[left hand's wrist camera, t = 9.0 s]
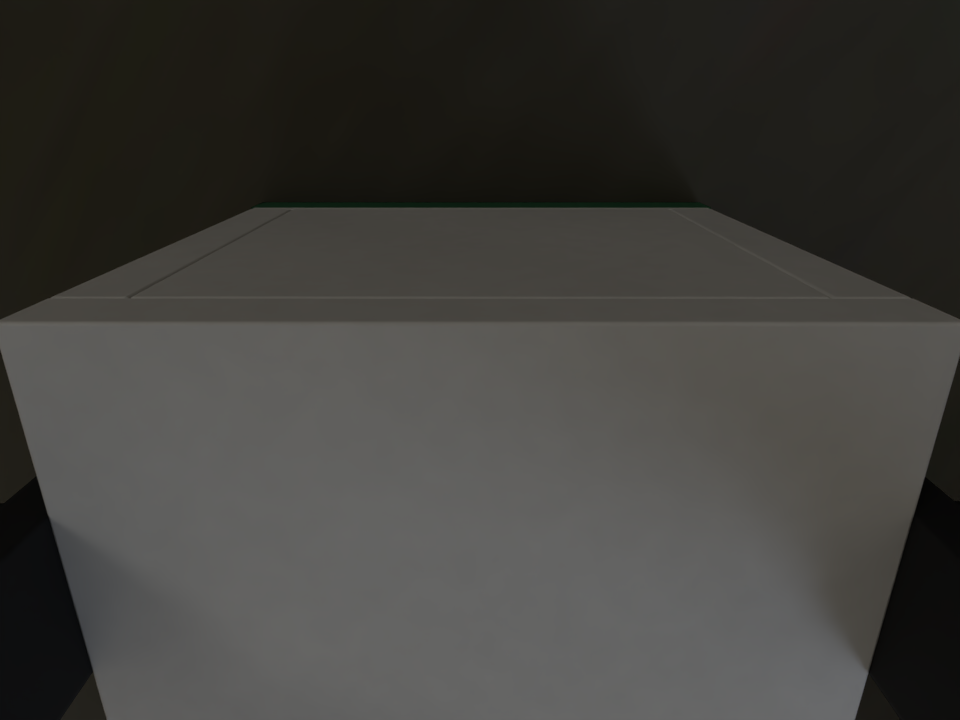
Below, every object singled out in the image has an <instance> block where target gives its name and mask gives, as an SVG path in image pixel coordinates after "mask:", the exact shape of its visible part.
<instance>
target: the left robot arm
mask: <svg viewBox="0 0 960 720" xmlns="http://www.w3.org/2000/svg"><path fill="white" fill-rule="evenodd" d="M92 672H93V670H92V667H91V663H90V660H89V656H88V653H87V649H86V646H85V642H84V639H83V635H82V632H81V628H80V625H79V621H78V618H77V614H76V611H75V607H74V604H73V601H72V597H71V594H70V590H69V587H68V583H67V580H66V576H65V573H64V569H63V566H62V562H61V559H60V555H59V552H58V548H57V545H56V541H55V538H54V534H53V531H52V528H51V524H50V521H49V517H48V514H47V510H46V507H45V503H44V500H43V496H42V493H41V489H40V486H39V482H38V479H37V476H36V477H35V478H34V479H33V480H31V481H30V482H29V483H28V484H27V485H25V486H24V487H23V488H22V489H21V490H19V491H18V492H17V493H16V494H15V495H13V496H12V497H11V498H10V499H9V500H8V501H6V502H5V503H0V720H60V719H61V718H62V716H63V715H64V713H65V712H66V710H67V709H68V707H69V706H70V704H71V703H72V701H73V700H74V699H75V697H76V696H77V694H78V693H79V691H80V690H81V688H82V687H83V685H84V684H85V682H86V681H87V679H88V678H89V677H90V675H91V674H92ZM869 674H870V676H871V677H872V678H873V680H874V681H875V683H876V684H877V686H878V687H879V689H880V690H881V692H882V693H883V695H884V696H885V698H886V699H887V700H888V702H889V703H890V705H891V706H892V708H893V709H894V711H895V712H896V714H897V715H898V717H899V718H900V719H901V720H960V501H953V500H952V499H951V498H950V497H948V496H947V495H946V494H945V493H944V492H942V491H941V490H940V489H939V488H938V487H937V486H935V485H934V484H933V483H932V482H931V481H929V480H928V479H927V478H926V477H925V478H924V482H923V485H922V489H921V492H920V496H919V499H918V503H917V506H916V510H915V513H914V517H913V520H912V524H911V527H910V530H909V534H908V537H907V541H906V544H905V548H904V551H903V555H902V558H901V562H900V565H899V569H898V572H897V576H896V579H895V582H894V586H893V589H892V593H891V596H890V600H889V603H888V607H887V610H886V614H885V617H884V621H883V624H882V628H881V631H880V635H879V638H878V641H877V645H876V648H875V652H874V655H873V659H872V662H871V666H870V669H869Z"/></svg>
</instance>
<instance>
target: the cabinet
mask: <svg viewBox="0 0 960 720" xmlns="http://www.w3.org/2000/svg"><path fill="white" fill-rule="evenodd" d="M0 350H1V354H2V357H3V361H4V364H5V368H6V371H7V375H8V378H9V382H10V385H11V388H12V392H13V395H14V399H15V402H16V406H17V409H18V413H19V416H20V420H21V423H22V427H23V430H24V434H25V437H26V441H27V444H28V448H29V451H30V455H31V458H32V461H33V465H34V468H35V472H36V475H37V479H38V482H39V486H40V489H41V493H42V496H43V500H44V503H45V507H46V510H47V514H48V517H49V521H50V524H51V528H52V531H53V534H54V538H55V541H56V545H57V548H58V552H59V555H60V559H61V562H62V566H63V569H64V573H65V576H66V580H67V583H68V587H69V590H70V594H71V597H72V601H73V604H74V607H75V611H76V614H77V618H78V621H79V625H80V628H81V632H82V635H83V639H84V642H85V646H86V649H87V653H88V656H89V660H90V663H91V667H92V670H93V674H94V677H95V681H96V684H97V687H98V691H99V694H100V698H101V701H102V705H103V708H104V712H105V715H106V719H107V720H855V718H856V714H857V711H858V707H859V704H860V700H861V697H862V694H863V690H864V687H865V683H866V680H867V676H868V673H869V669H870V666H871V662H872V659H873V655H874V652H875V648H876V645H877V641H878V638H879V635H880V631H881V628H882V624H883V621H884V617H885V614H886V610H887V607H888V603H889V600H890V596H891V593H892V589H893V586H894V582H895V579H896V576H897V572H898V569H899V565H900V562H901V558H902V555H903V551H904V548H905V544H906V541H907V537H908V534H909V530H910V527H911V524H912V520H913V517H914V513H915V510H916V506H917V503H918V499H919V496H920V492H921V489H922V485H923V482H924V478H925V475H926V471H927V468H928V465H929V461H930V458H931V454H932V451H933V447H934V444H935V440H936V437H937V433H938V430H939V426H940V423H941V419H942V416H943V413H944V409H945V406H946V402H947V399H948V395H949V392H950V388H951V385H952V381H953V378H954V374H955V371H956V367H957V364H958V360H959V357H960V319H958V318H956V317H953V316H951V315H949V314H947V313H944V312H942V311H940V310H938V309H935V308H933V307H931V306H929V305H926V304H924V303H922V302H920V301H917V300H915V299H911V298H910V297H908V296H906V295H903V294H901V293H899V292H897V291H894V290H892V289H890V288H888V287H885V286H883V285H881V284H879V283H876V282H874V281H872V280H870V279H867V278H865V277H863V276H861V275H858V274H856V273H854V272H852V271H849V270H847V269H845V268H843V267H840V266H838V265H836V264H834V263H831V262H829V261H827V260H825V259H822V258H820V257H818V256H816V255H813V254H811V253H809V252H807V251H804V250H802V249H800V248H798V247H795V246H793V245H791V244H789V243H786V242H784V241H782V240H780V239H777V238H775V237H773V236H771V235H768V234H766V233H764V232H762V231H759V230H757V229H755V228H753V227H750V226H748V225H746V224H744V223H741V222H739V221H737V220H735V219H732V218H730V217H728V216H725V215H723V214H721V213H719V212H716V211H714V210H712V209H711V207H709V206H706V205H704V204H702V203H699V202H263V203H260V204H258V205H256V206H254V207H251V209H250V210H248V211H245V212H243V213H241V214H239V215H236V216H234V217H232V218H230V219H227V220H225V221H223V222H221V223H218V224H216V225H214V226H211V227H209V228H207V229H205V230H202V231H200V232H198V233H196V234H193V235H191V236H189V237H187V238H184V239H182V240H180V241H178V242H175V243H173V244H171V245H168V246H166V247H164V248H162V249H159V250H157V251H155V252H153V253H150V254H148V255H146V256H144V257H141V258H139V259H137V260H135V261H132V262H130V263H128V264H125V265H123V266H121V267H119V268H116V269H114V270H112V271H110V272H107V273H105V274H103V275H101V276H98V277H96V278H94V279H92V280H89V281H87V282H85V283H82V284H80V285H78V286H76V287H73V288H71V289H69V290H67V291H64V292H62V293H60V294H58V295H55V296H53V297H51V298H48V299H46V300H44V301H41V302H39V303H37V304H35V305H32V306H30V307H28V308H26V309H23V310H21V311H19V312H16V313H14V314H12V315H10V316H7V317H5V318H3V319H1V320H0Z"/></svg>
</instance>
